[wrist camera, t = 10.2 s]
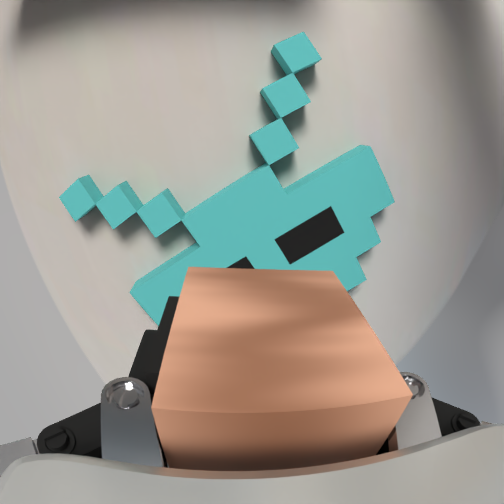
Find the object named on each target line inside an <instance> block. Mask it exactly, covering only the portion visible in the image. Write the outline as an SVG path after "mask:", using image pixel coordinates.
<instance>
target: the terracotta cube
mask: <svg viewBox="0 0 504 504" xmlns="http://www.w3.org/2000/svg"><path fill="white" fill-rule="evenodd" d="M412 396H413V394H412V392H411V391H410V389H409V387H408V386H407V384H406V382H405V381H404V379H403V377H402V376H401V374H400V372H399V371H398V369H397V368H396V366H395V364H394V363H393V361H392V359H391V358H390V356H389V355H388V353H387V352H386V350H385V348H384V347H383V345H382V344H381V342H380V341H379V339H378V337H377V336H376V334H375V333H374V331H373V330H372V328H371V327H370V325H369V324H368V322H367V320H366V319H365V317H364V316H363V314H362V313H361V311H360V310H359V308H358V307H357V305H356V304H355V302H354V301H353V299H352V298H351V296H350V295H349V294H348V292H347V291H346V289H345V288H344V286H343V285H342V283H341V282H340V280H339V279H338V277H337V276H336V275H335V273H334V272H333V271H317V270H275V269H241V268H210V267H188V270H187V273H186V276H185V280H184V283H183V287H182V290H181V294H180V297H179V301H178V304H177V308H176V311H175V315H174V319H173V322H172V326H171V330H170V333H169V337H168V341H167V345H166V349H165V352H164V356H163V360H162V364H161V368H160V372H159V376H158V381H157V385H156V389H155V393H154V397H153V402H152V406H151V409H152V413H153V416H154V420H155V424H156V427H157V431H158V434H159V438H160V441H161V444H162V448H163V451H164V454H165V457H166V460H167V463H168V466H169V468H175V469H187V470H203V471H264V470H281V469H293V468H303V467H312V466H320V465H327V464H333V463H340V462H345V461H351V460H356V459H361V458H366V457H371V456H375V455H376V454H377V452H378V451H379V450H380V448H381V447H382V445H383V444H384V442H385V441H386V439H387V438H388V436H389V434H390V433H391V431H392V430H393V428H394V427H395V425H396V423H397V422H398V420H399V418H400V417H401V415H402V413H403V412H404V410H405V408H406V406H407V405H408V403H409V401H410V399H411V397H412Z"/></svg>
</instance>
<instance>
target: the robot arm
mask: <svg viewBox="0 0 504 504" xmlns="http://www.w3.org/2000/svg"><path fill="white" fill-rule="evenodd" d="M178 301H179V297H178V296H169V297H168V300H167V303H166V306H165V309H164V312H163V315H162V318H161V321H160V324H159V327H158V330H145V332H144V335H143V337H142V340H141V343H140V346H139V348H138V351H137V354H136V357H135V359H134V362H133V365H132V368H131V371H130V374H129V377H122V378H117V379H115V380H112V381H110V382H109V383H108V384H106V385H105V387H104V389H103V390H102V393H101V403H99V404H97V405H95V406H92V407H90V408H88V409H86V410H84V411H82V412H79V413H77V414H75V415H73V416H70V417H68V418H66V419H64V420H61V421H59V422H57V423H54V424H52V425H50V426H48V427H46V428H45V429H43V431H42V432H41V433H40V434H39V436H38V439H35V440H32V438H31V437H29V438H26V439H22V440H19V441H15V442H11V443H7V444H4V445H0V504H504V424H492V423H488V422H484V421H482V422H481V423H480V422H479V421H478V419H477V418H476V417H475V416H474V415H473V414H471V413H469V412H467V411H465V410H462V409H460V408H457V407H454V406H452V405H449V404H447V403H444V402H442V401H439V400H437V399H434V398H432V397H431V394H430V391H429V387H428V385H427V383H426V382H425V381H424V380H423V379H422V378H421V377H419V376H418V375H415V374H413V373H408V372H400V374H401V376H402V377H403V379H404V381H405V382H406V384H407V386H408V387H409V389H410V391H411V392H412V394H413V396H412V397H411V399H410V401H409V403H408V405H407V406H406V408H405V410H404V412H403V413H402V415H401V417H400V418H399V420H398V422H397V423H396V425H395V427H394V428H393V430H392V431H391V433H390V434H389V436H388V438H387V439H386V441H385V442H384V444H383V445H382V447H381V448H380V450H379V451H378V452H377V454H376V455H375V456H371V457H366V458H361V459H356V460H351V461H345V462H340V463H333V464H327V465H320V466H312V467H303V468H293V469H281V470H264V471H203V470H187V469H175V468H169V466H168V463H167V460H166V457H165V454H164V451H163V448H162V444H161V441H160V438H159V434H158V431H157V427H156V424H155V420H154V416H153V413H152V409H151V406H152V402H153V397H154V393H155V389H156V385H157V381H158V376H159V372H160V368H161V364H162V360H163V356H164V352H165V349H166V345H167V341H168V337H169V333H170V330H171V326H172V322H173V319H174V315H175V311H176V308H177V304H178Z"/></svg>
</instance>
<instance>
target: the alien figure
mask: <svg viewBox="0 0 504 504" xmlns="http://www.w3.org/2000/svg"><path fill="white" fill-rule="evenodd" d="M271 53H272V54H273V56H274V57H275V59H276V60H277V62H278V63H279V65H280V66H281V68H282V69H283V71H284V72H285V74H286V75H287V76H285V77H283V78H281V79H279V80H278V81H276V82H274V83H272V84H270V85H268V86H266V87H264V88H263V89H262V90H261V91H260V93H261V94H262V96H263V98H264V99H265V101H266V102H267V104H268V105H269V107H270V109H271V110H272V112H273V113H274V115H275V116H276V118H277V120H275V121H273V122H271V123H270V124H268V125H266V126H264V127H263V128H261V129H259V130H257V131H256V132H254V133H252V134H251V135H249V136H250V138H251V139H252V141H253V143H254V144H255V146H256V147H257V149H258V150H259V152H260V154H261V155H262V157H263V159H264V160H265V162H266V163H265V164H263V165H261V166H260V167H258V168H256V169H255V170H253V171H251V172H250V173H248V174H247V175H245V176H243V177H242V178H240V179H238V180H237V181H235V182H234V183H232V184H230V185H229V186H227V187H226V188H224V189H222V190H221V191H219V192H218V193H216V194H214V195H213V196H211V197H210V198H208V199H207V200H205V201H204V202H202V203H201V204H199V205H197V206H196V207H194V208H193V209H191V210H190V211H188V212H187V213H185V212H184V211H183V209H182V208H181V207H180V205H179V204H178V202H177V201H176V199H175V198H174V197H173V195H172V194H171V192H170V191H169V189H168V188H167V189H166V190H164V191H163V192H161V193H160V194H159V195H157V196H156V197H154V198H153V199H152V200H150V201H149V202H148V203H146V204H145V205H143V204H142V203H141V201H140V200H139V198H138V197H137V195H136V194H135V192H134V191H133V190H132V188H131V187H130V185H129V184H128V182H127V181H125V182H123V183H121V184H119V185H117V186H116V187H115V188H114V189H113V190H111V191H110V192H109V193H108V194H107V195H105V196H103V195H102V193H101V192H100V191H99V189H98V188H97V186H96V185H95V183H94V182H93V180H92V179H91V177H90V176H89V175H87V176H84V177H81V178H79V179H77V180H76V181H75V182H74V183H73V184H72V185H71V186H70V187H69V188H68V189H67V190H66V191H65V192H64V193H63V194H62V195H61V196H60V197H59V198H60V200H61V201H62V203H63V204H64V206H65V207H66V209H67V210H68V212H69V213H70V215H71V216H72V218H73V219H74V221H75V222H76V221H77V220H79V219H80V218H82V217H83V216H85V215H86V214H87V213H88V212H89V211H91V210H92V209H93V208H94V207H95V206H97V207H98V209H99V210H100V212H101V213H102V214H103V216H104V217H105V219H106V220H107V221H108V223H109V224H110V226H111V227H112V228H113V229H115V228H116V227H117V226H118V225H120V224H121V223H122V222H124V221H125V220H126V219H128V218H129V217H130V216H131V215H133V214H134V213H135V212H137V213H138V215H139V216H140V217H141V219H142V220H143V222H144V223H145V224H146V226H147V227H148V228H149V230H150V231H151V233H152V234H153V235H154V237H155V238H156V237H158V236H159V235H161V234H162V233H164V232H165V231H167V230H168V229H170V228H171V227H172V226H174V225H175V224H177V223H178V222H180V221H182V222H183V223H184V225H185V226H186V228H187V229H188V230H189V232H190V233H191V235H192V236H193V237H194V239H195V240H196V243H195V244H193V245H191V246H190V247H188V248H187V249H185V250H184V251H182V252H180V253H179V254H177V255H176V256H174V257H173V258H171V259H170V260H168V261H166V262H165V263H163V264H162V265H160V266H159V267H157V268H156V269H154V270H153V271H151V272H150V273H148V274H147V275H145V276H144V277H142V278H141V279H139V280H138V281H136V282H135V284H134V286H133V287H132V289H131V291H130V294H131V295H132V296H133V297H134V299H135V300H136V301H137V302H138V303H139V304H140V306H141V307H142V308H143V309H144V310H145V311H146V312H147V314H148V315H149V316H150V317H151V318H152V319H153V320H154V321H155V323H156V324H157V325H158V326H159V324H160V321H161V318H162V315H163V312H164V309H165V306H166V303H167V300H168V297H169V296H178V297H180V294H181V290H182V287H183V283H184V280H185V276H186V273H187V270H188V267H210V268H241V269H275V270H317V271H333V272H334V273H335V275H336V276H337V277H338V279H339V280H340V282H341V283H342V285H343V286H344V288H345V289H346V291H349V290H350V289H352V288H354V287H355V286H357V285H359V284H360V283H362V282H363V281H365V280H366V277H365V275H364V273H363V271H362V269H361V266H360V264H359V262H358V260H357V258H356V257H358V256H359V255H361V254H362V253H364V252H366V251H367V250H369V249H371V248H372V247H374V246H375V245H377V244H379V243H380V242H381V241H380V238H379V236H378V233H377V231H376V229H375V226H374V224H373V222H372V219H371V216H373V215H374V214H376V213H378V212H379V211H381V210H382V209H384V208H386V207H387V206H389V205H391V204H392V203H394V202H395V201H394V199H393V196H392V194H391V191H390V189H389V187H388V184H387V182H386V180H385V177H384V175H383V173H382V170H381V168H380V166H379V164H378V162H377V159H376V157H375V155H374V153H373V151H372V149H371V147H370V146H364V145H359V146H357V147H356V148H354V149H352V150H350V151H349V152H347V153H345V154H343V155H341V156H340V157H338V158H336V159H334V160H333V161H331V162H329V163H327V164H326V165H324V166H322V167H320V168H319V169H317V170H315V171H313V172H312V173H310V174H308V175H306V176H305V177H303V178H301V179H300V180H298V181H296V182H294V183H293V184H291V185H289V186H288V187H286V188H284V189H283V188H282V186H281V184H280V183H279V181H278V179H277V178H276V176H275V174H274V173H273V171H272V169H271V168H270V166H269V165H271V164H272V163H274V162H276V161H277V160H279V159H281V158H282V157H284V156H286V155H288V154H289V153H291V152H293V151H295V150H296V149H298V148H299V147H298V145H297V143H296V142H295V140H294V138H293V137H292V135H291V133H290V132H289V130H288V128H287V127H286V125H285V123H284V122H283V120H282V117H284V116H286V115H287V114H289V113H291V112H293V111H295V110H297V109H299V108H300V107H302V106H304V105H306V104H308V103H310V102H311V101H310V99H309V98H308V96H307V94H306V93H305V91H304V90H303V88H302V86H301V85H300V83H299V82H298V80H297V78H296V77H295V75H294V74H296V73H298V72H300V71H302V70H304V69H306V68H308V67H310V66H312V65H314V64H316V63H317V62H319V61H320V60H321V59H322V58H321V57H320V55H319V54H318V52H317V51H316V49H315V48H314V46H313V45H312V43H311V42H310V40H309V39H308V37H307V36H306V35H305V33H304V32H302V33H299V34H297V35H295V36H292V37H290V38H288V39H286V40H284V41H281V42H279V43H277V44H275V45H274V46H273V48H272V50H271Z"/></svg>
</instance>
